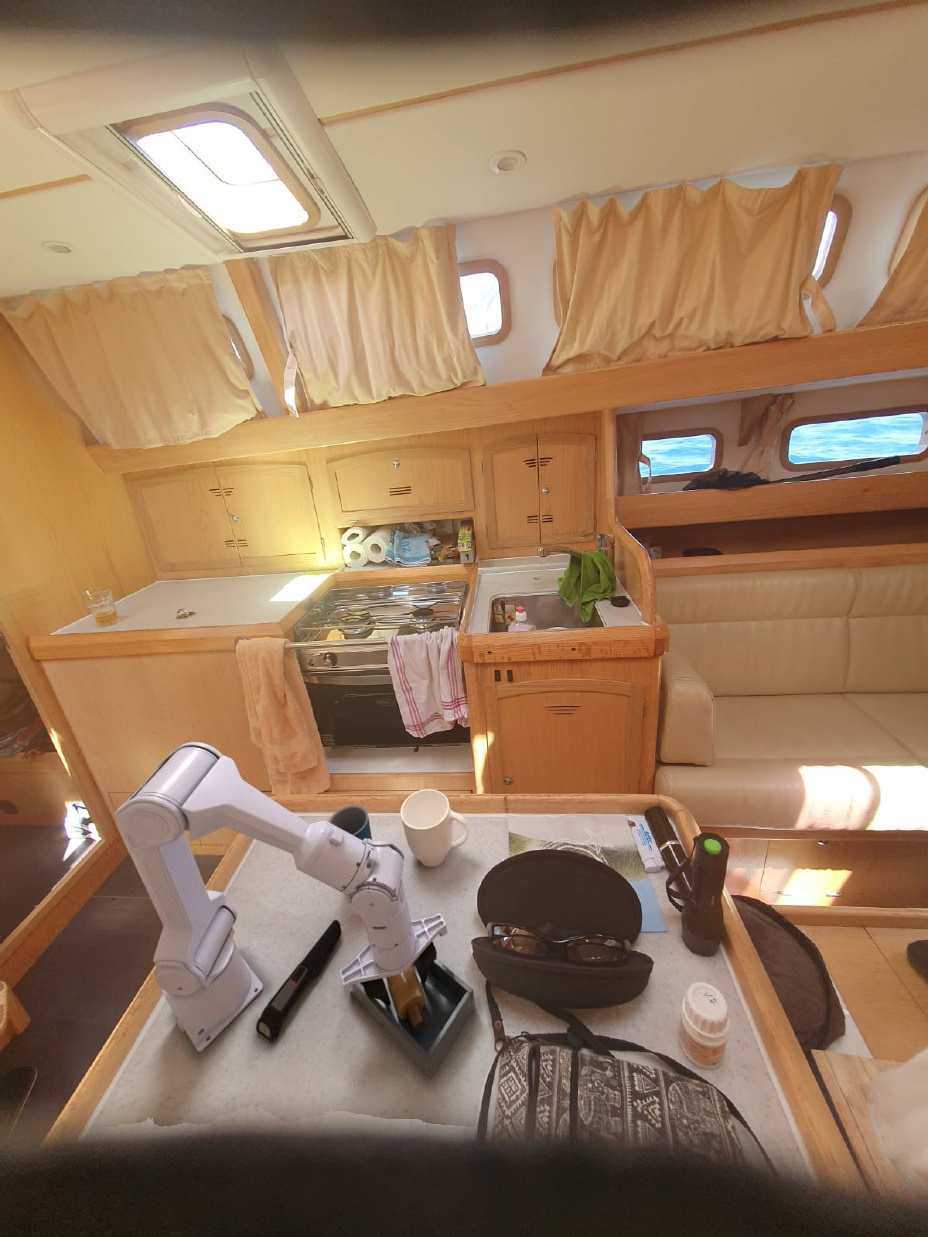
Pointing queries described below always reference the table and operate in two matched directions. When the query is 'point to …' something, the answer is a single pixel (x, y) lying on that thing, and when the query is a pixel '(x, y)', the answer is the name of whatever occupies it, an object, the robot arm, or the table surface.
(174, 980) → the robot arm
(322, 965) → the electric trimmer
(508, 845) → the table surface
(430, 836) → the mug
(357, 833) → the cup
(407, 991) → the rolling pin
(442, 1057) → the tin
